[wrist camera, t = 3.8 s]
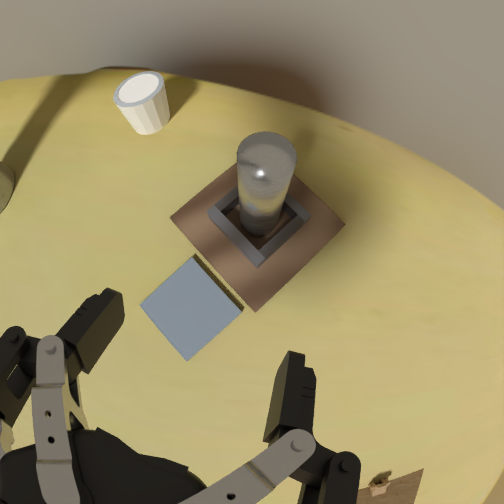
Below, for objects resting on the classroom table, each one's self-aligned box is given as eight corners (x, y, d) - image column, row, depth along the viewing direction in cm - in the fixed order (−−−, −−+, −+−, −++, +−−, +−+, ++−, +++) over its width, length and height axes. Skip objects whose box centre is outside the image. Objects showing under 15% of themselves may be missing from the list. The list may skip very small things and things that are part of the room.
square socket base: (172, 221, 32) (164, 210, 28) (259, 149, 34) (261, 134, 31) (255, 312, 30) (256, 312, 26) (342, 227, 32) (352, 217, 28)
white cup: (134, 106, 36) (120, 75, 29) (177, 100, 36) (167, 66, 29) (125, 141, 34) (106, 111, 27) (171, 135, 34) (158, 102, 28)
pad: (141, 305, 29) (139, 305, 29) (192, 257, 31) (191, 256, 30) (187, 360, 28) (186, 361, 28) (242, 312, 29) (241, 312, 29)
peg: (232, 218, 30) (224, 153, 18) (259, 196, 31) (267, 122, 18) (257, 244, 30) (266, 192, 17) (284, 220, 31) (308, 157, 18)
